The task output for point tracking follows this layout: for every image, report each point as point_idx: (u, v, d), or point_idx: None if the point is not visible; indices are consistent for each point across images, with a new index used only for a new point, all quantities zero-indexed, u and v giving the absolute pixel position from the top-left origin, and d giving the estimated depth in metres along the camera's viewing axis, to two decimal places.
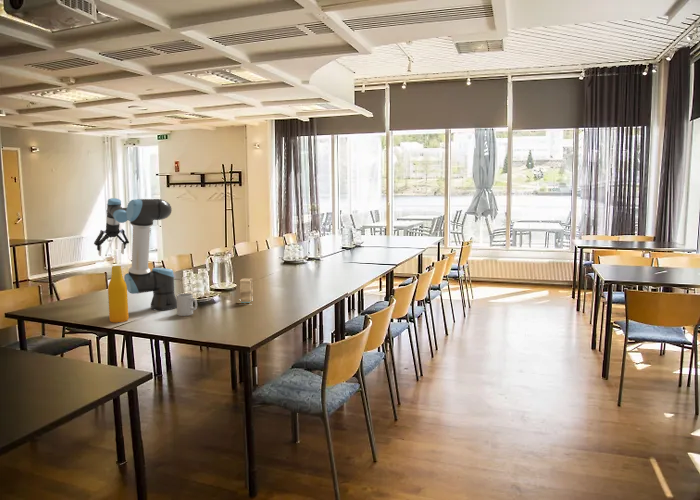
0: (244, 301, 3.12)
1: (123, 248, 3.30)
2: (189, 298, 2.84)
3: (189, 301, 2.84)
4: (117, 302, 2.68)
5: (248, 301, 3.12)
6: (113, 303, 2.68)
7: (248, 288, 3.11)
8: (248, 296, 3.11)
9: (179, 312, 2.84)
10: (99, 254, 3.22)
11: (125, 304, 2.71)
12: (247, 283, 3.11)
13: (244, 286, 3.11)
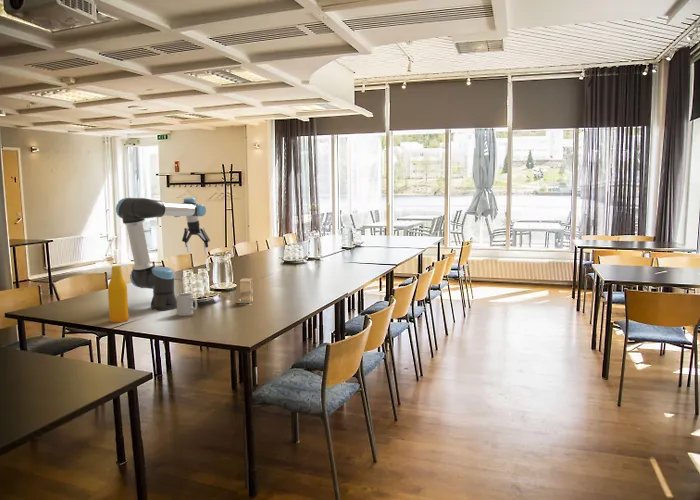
0: (244, 301, 3.12)
1: (204, 246, 3.43)
2: (189, 298, 2.84)
3: (189, 301, 2.84)
4: (117, 302, 2.68)
5: (248, 301, 3.12)
6: (113, 303, 2.68)
7: (248, 288, 3.11)
8: (248, 296, 3.11)
9: (179, 312, 2.84)
10: None
11: (125, 304, 2.71)
12: (247, 283, 3.11)
13: (244, 286, 3.11)
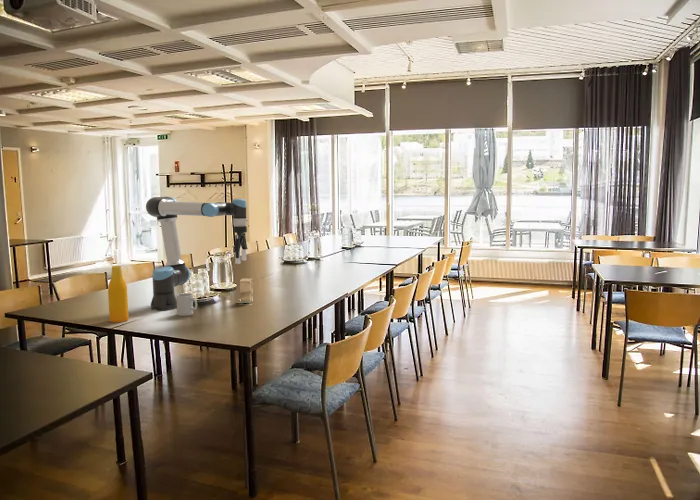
0: (244, 301, 3.12)
1: (235, 256, 2.95)
2: (189, 298, 2.84)
3: (189, 301, 2.84)
4: (117, 302, 2.68)
5: (248, 301, 3.12)
6: (113, 303, 2.68)
7: (248, 288, 3.11)
8: (248, 296, 3.11)
9: (179, 312, 2.84)
10: None
11: (125, 304, 2.71)
12: (247, 283, 3.11)
13: (244, 286, 3.11)
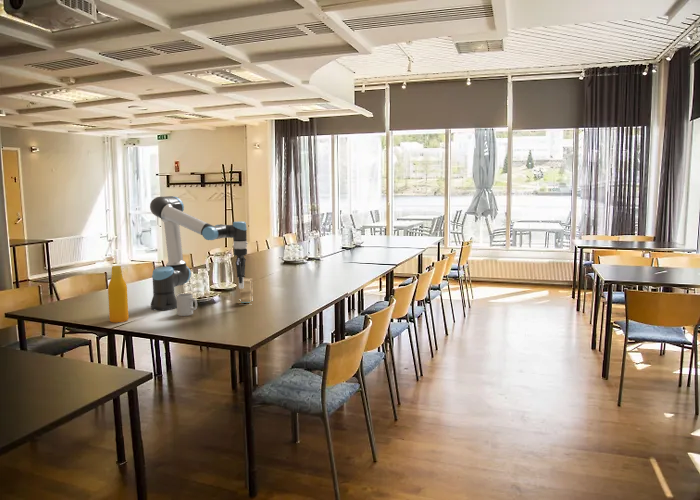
0: (244, 301, 3.12)
1: None
2: (189, 298, 2.84)
3: (189, 301, 2.84)
4: (117, 302, 2.68)
5: (248, 301, 3.12)
6: (113, 303, 2.68)
7: (248, 288, 3.11)
8: (248, 296, 3.11)
9: (179, 312, 2.84)
10: None
11: (125, 304, 2.71)
12: (247, 283, 3.11)
13: (244, 286, 3.11)
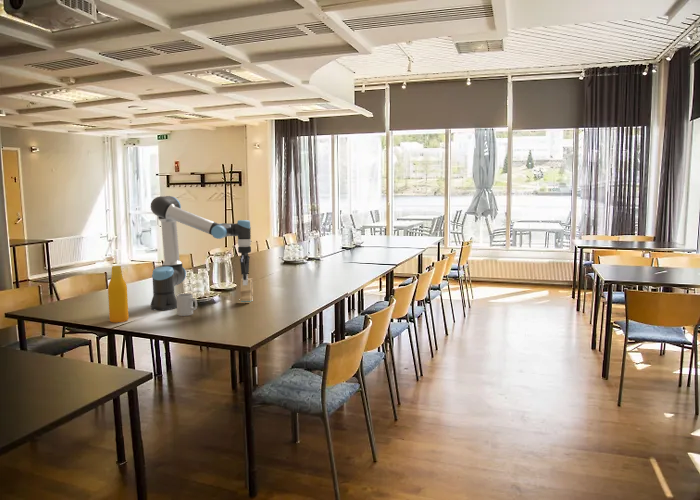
0: (244, 300, 3.12)
1: None
2: (189, 298, 2.84)
3: (189, 301, 2.84)
4: (117, 302, 2.68)
5: (248, 300, 3.12)
6: (113, 303, 2.68)
7: (248, 287, 3.12)
8: (248, 295, 3.12)
9: (179, 312, 2.84)
10: None
11: (125, 304, 2.71)
12: (248, 282, 3.12)
13: (244, 285, 3.12)
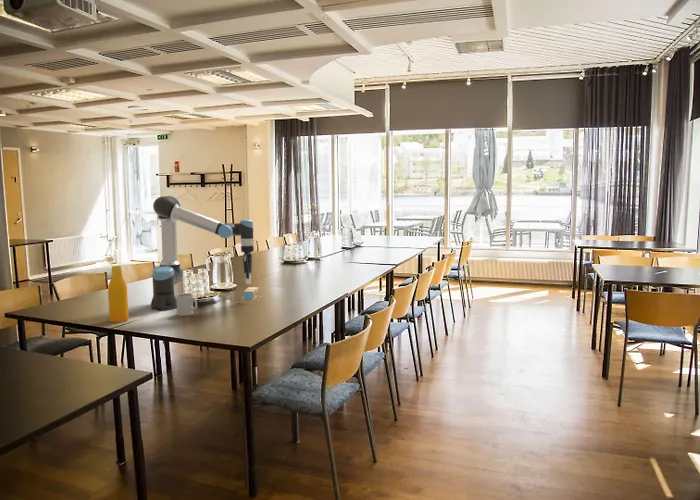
0: (247, 291, 3.19)
1: None
2: (189, 298, 2.84)
3: (189, 301, 2.84)
4: (117, 302, 2.68)
5: (251, 291, 3.18)
6: (113, 303, 2.68)
7: (255, 288, 3.26)
8: (252, 290, 3.21)
9: (179, 312, 2.84)
10: None
11: (125, 304, 2.71)
12: (255, 287, 3.29)
13: (251, 288, 3.28)
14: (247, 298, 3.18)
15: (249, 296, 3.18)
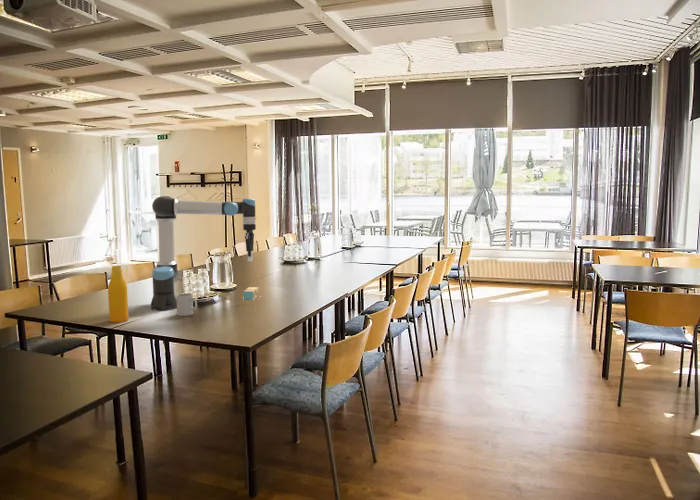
0: (247, 291, 3.19)
1: None
2: (189, 298, 2.84)
3: (189, 301, 2.84)
4: (117, 302, 2.68)
5: (251, 291, 3.18)
6: (113, 303, 2.68)
7: (255, 288, 3.26)
8: (252, 290, 3.21)
9: (179, 312, 2.84)
10: None
11: (125, 304, 2.71)
12: (255, 287, 3.29)
13: (251, 288, 3.28)
14: (247, 298, 3.18)
15: (249, 296, 3.18)
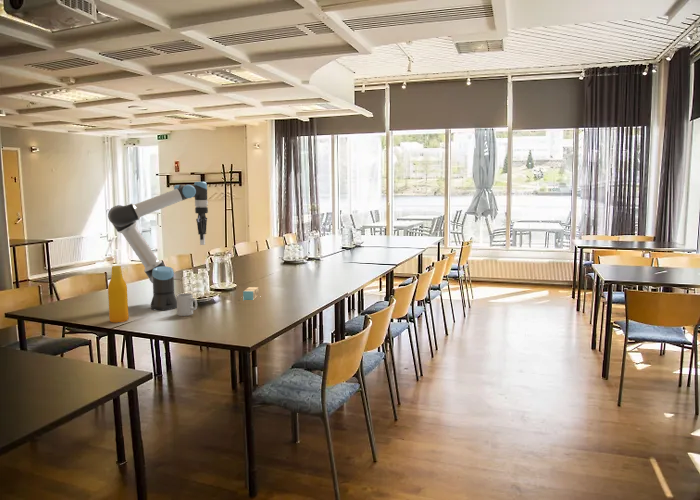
0: (247, 291, 3.19)
1: (200, 238, 3.22)
2: (189, 298, 2.84)
3: (189, 301, 2.84)
4: (117, 302, 2.68)
5: (251, 291, 3.18)
6: (113, 303, 2.68)
7: (255, 288, 3.26)
8: (252, 290, 3.21)
9: (179, 312, 2.84)
10: None
11: (125, 304, 2.71)
12: (255, 287, 3.29)
13: (251, 288, 3.28)
14: (247, 298, 3.18)
15: (249, 296, 3.18)
